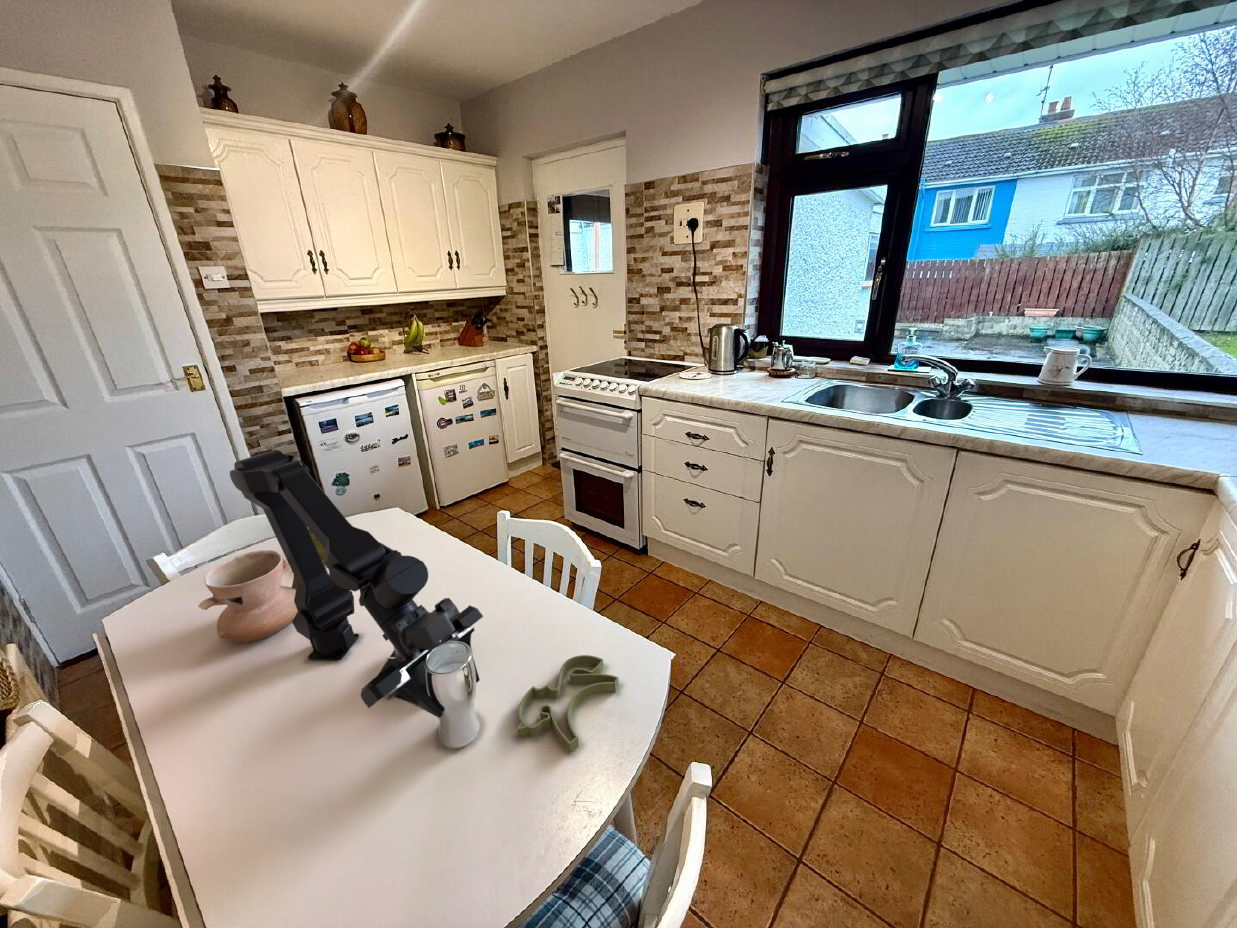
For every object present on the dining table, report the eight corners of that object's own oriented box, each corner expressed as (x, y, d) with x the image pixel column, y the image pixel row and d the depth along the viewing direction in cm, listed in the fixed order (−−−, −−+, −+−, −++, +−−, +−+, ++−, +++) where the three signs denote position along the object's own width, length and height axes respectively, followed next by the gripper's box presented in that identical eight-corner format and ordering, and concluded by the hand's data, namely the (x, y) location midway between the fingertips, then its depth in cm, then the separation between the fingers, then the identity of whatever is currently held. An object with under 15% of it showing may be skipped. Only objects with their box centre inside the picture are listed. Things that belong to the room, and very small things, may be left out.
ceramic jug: (239, 665, 89) (211, 603, 84) (201, 639, 96) (173, 580, 90) (332, 607, 103) (314, 551, 98) (294, 588, 110) (275, 534, 104)
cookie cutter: (565, 765, 70) (564, 755, 69) (503, 728, 76) (502, 719, 75) (626, 678, 84) (626, 669, 83) (570, 653, 90) (570, 644, 89)
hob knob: (393, 667, 84) (388, 650, 82) (404, 650, 88) (400, 633, 86) (415, 668, 84) (411, 651, 82) (425, 650, 87) (421, 634, 86)
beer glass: (427, 747, 73) (412, 671, 67) (449, 708, 79) (437, 636, 73) (470, 755, 72) (459, 678, 66) (489, 715, 78) (480, 642, 72)
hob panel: (376, 694, 82) (372, 680, 81) (404, 650, 92) (401, 637, 90) (445, 696, 82) (442, 683, 80) (466, 652, 91) (464, 639, 89)
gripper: (351, 637, 61) (426, 739, 60) (465, 562, 75) (527, 642, 74) (332, 661, 68) (399, 752, 67) (440, 588, 82) (496, 662, 81)
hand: (459, 698), depth 72 cm, fingers closed on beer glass, 7 cm apart
